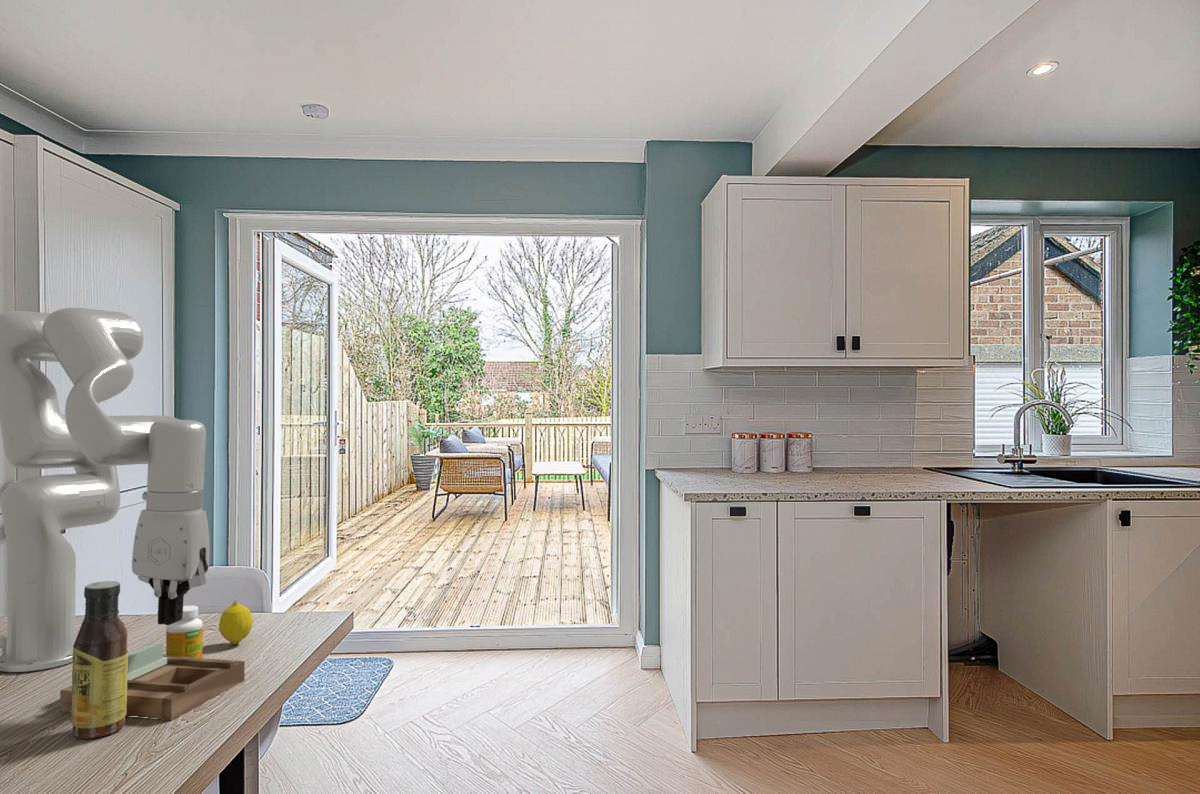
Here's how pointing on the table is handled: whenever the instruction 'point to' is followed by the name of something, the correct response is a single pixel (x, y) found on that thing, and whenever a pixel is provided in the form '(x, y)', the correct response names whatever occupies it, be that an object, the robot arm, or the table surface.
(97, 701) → the sauce bottle
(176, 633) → the supplement bottle
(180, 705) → the wooden tray
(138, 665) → the lid
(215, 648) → the table surface
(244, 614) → the fruit
